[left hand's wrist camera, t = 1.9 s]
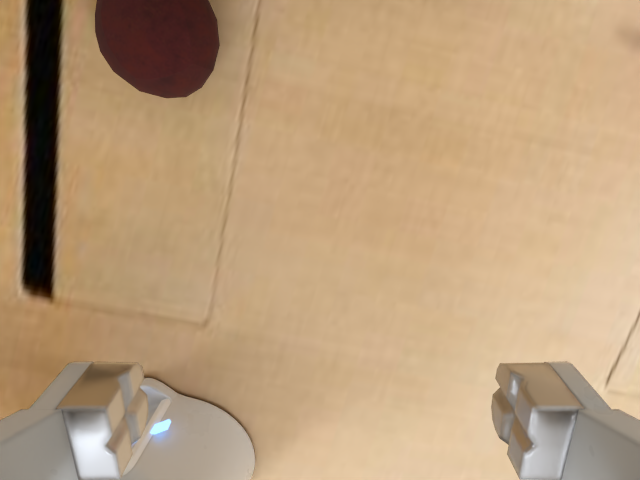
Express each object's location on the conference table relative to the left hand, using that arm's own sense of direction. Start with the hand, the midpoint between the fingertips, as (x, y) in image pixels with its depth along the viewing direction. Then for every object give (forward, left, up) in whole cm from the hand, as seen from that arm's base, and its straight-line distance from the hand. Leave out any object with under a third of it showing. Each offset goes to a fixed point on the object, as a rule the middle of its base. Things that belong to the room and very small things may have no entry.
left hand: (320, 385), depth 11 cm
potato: (-7, +11, -26) cm, 29 cm away
